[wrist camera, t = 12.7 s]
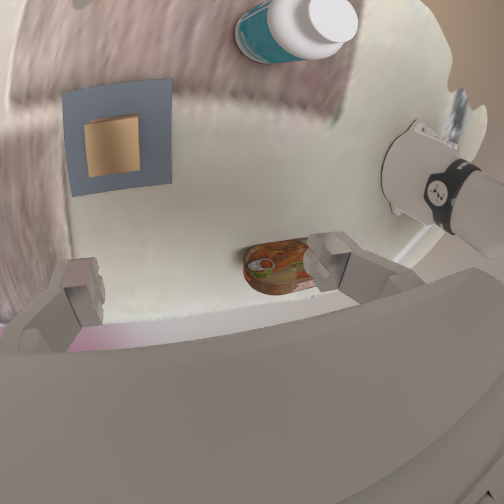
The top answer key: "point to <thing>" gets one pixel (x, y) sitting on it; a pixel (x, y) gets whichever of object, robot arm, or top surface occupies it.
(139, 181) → the mat
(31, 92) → the top surface
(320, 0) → the pill bottle
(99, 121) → the cube
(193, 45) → the top surface
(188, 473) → the robot arm
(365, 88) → the top surface
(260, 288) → the tin
